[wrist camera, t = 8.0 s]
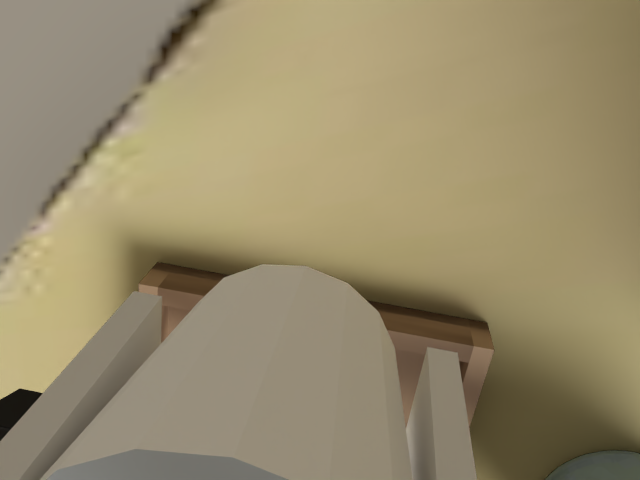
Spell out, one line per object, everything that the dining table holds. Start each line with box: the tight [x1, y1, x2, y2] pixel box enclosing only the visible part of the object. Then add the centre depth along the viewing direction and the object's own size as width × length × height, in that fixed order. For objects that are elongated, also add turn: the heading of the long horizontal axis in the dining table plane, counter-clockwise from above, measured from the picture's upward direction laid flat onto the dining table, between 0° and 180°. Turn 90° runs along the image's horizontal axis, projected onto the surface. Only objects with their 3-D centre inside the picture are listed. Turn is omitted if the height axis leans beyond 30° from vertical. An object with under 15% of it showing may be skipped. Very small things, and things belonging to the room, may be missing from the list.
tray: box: [139, 262, 494, 428], centre depth 33 cm, size 18×18×2 cm
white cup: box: [40, 264, 413, 480], centre depth 12 cm, size 7×7×7 cm
